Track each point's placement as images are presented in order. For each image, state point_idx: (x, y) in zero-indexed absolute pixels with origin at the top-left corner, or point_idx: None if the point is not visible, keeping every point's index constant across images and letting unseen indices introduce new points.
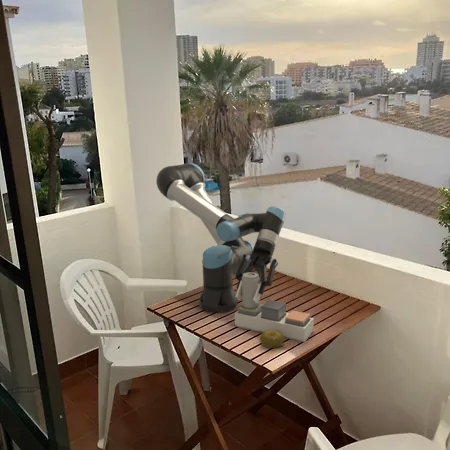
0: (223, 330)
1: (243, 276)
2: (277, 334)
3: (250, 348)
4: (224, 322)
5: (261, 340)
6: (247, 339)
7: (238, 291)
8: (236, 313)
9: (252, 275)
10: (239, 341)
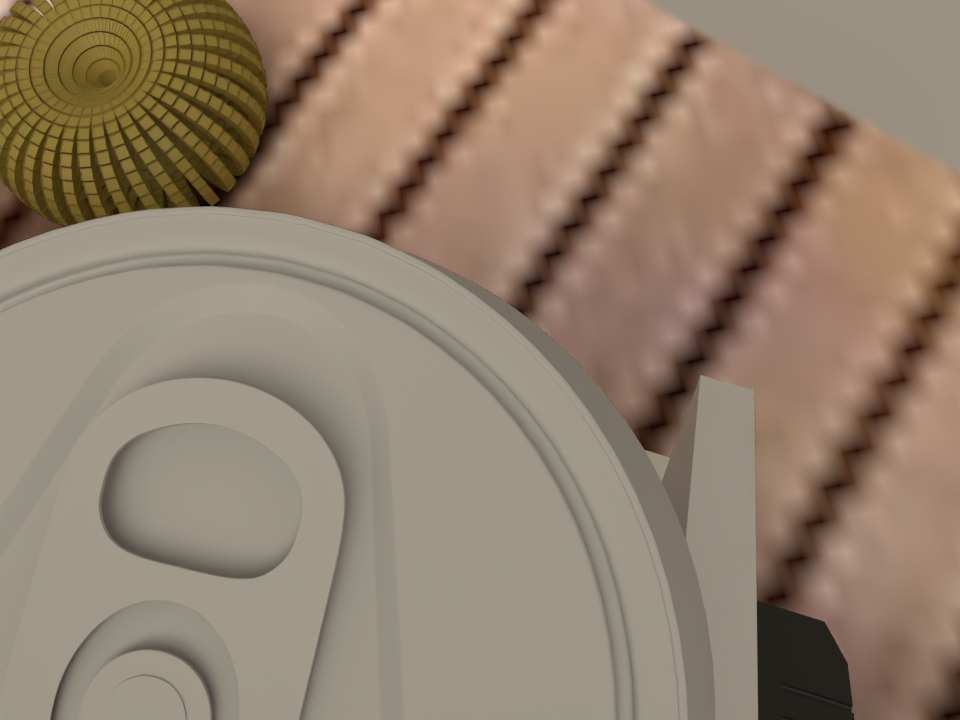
0: (778, 338)
1: (585, 416)
2: (22, 41)
3: (372, 2)
4: (839, 578)
5: (239, 24)
6: (433, 176)
7: (709, 465)
8: (662, 462)
9: (22, 605)
10: (516, 115)
